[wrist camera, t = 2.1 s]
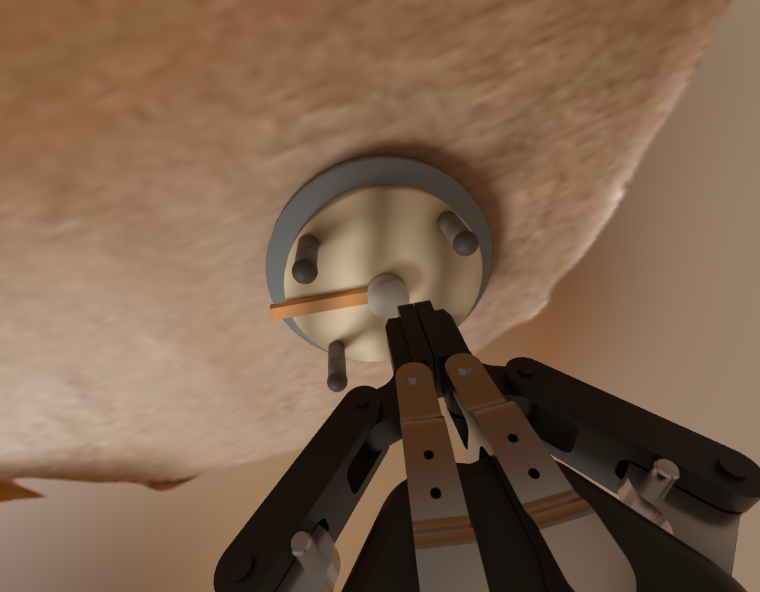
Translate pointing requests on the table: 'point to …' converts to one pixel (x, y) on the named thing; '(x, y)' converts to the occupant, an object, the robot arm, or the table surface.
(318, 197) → the dial base
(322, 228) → the capstan dial
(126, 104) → the table surface
